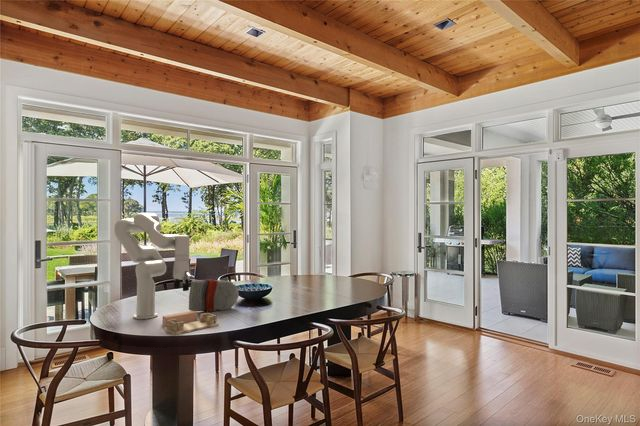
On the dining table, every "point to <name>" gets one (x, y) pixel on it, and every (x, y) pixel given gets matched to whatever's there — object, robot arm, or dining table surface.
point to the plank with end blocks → (191, 324)
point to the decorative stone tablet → (212, 295)
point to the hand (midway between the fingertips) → (181, 289)
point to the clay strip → (181, 317)
